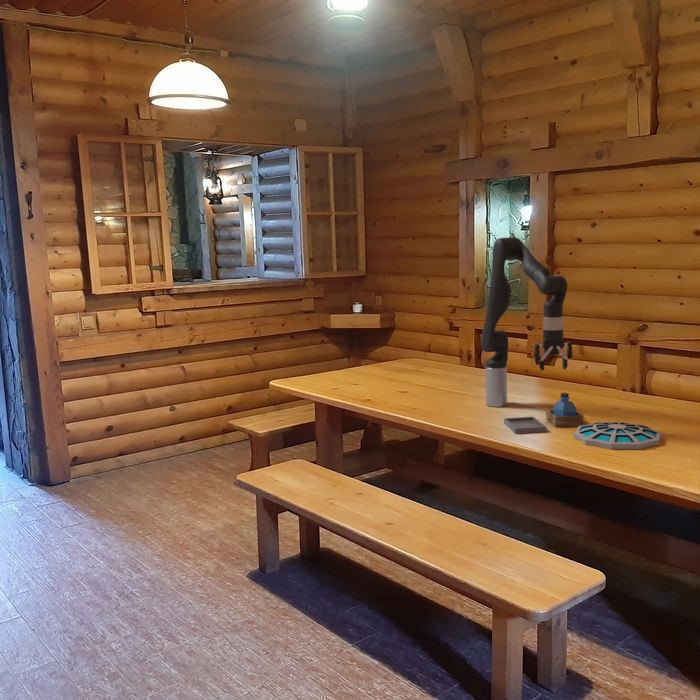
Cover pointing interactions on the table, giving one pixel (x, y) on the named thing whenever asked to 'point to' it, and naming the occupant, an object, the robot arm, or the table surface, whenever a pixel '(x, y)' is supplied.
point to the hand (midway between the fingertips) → (553, 369)
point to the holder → (564, 419)
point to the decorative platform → (618, 435)
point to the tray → (524, 425)
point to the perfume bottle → (564, 406)
